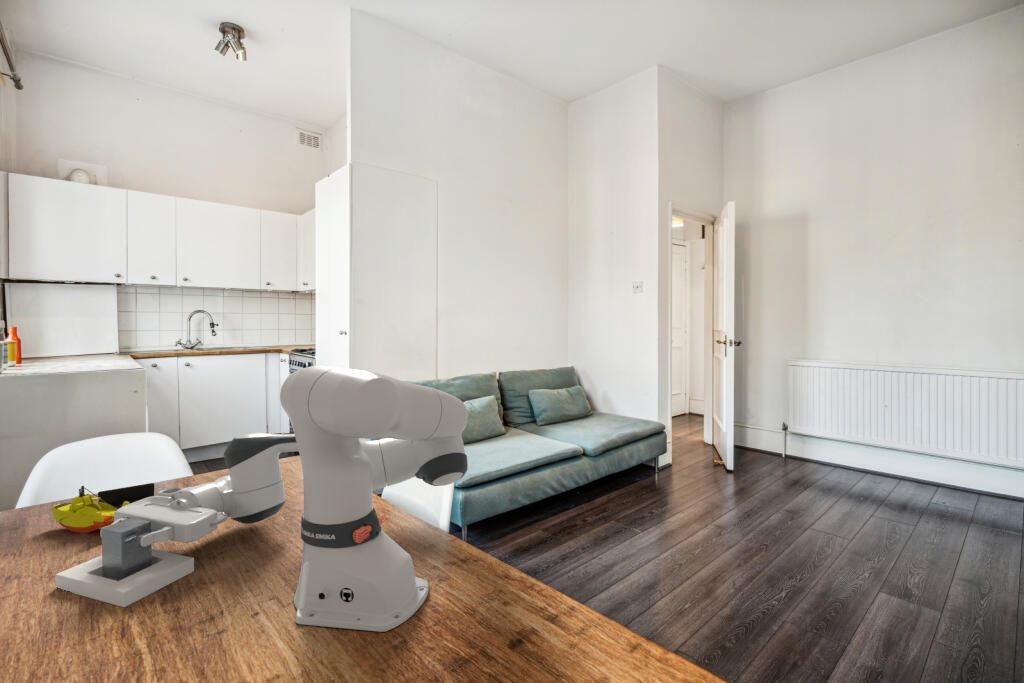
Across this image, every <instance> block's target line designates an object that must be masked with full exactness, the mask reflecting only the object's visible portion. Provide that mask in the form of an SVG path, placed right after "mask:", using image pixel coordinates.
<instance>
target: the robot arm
mask: <svg viewBox="0 0 1024 683" xmlns="http://www.w3.org/2000/svg"><path fill="white" fill-rule="evenodd" d="M279 393H280V394H279V399H280V405H281V407H282V409H283V411H284V412H285V413H286V414H287V417H288V418H289V421H290V424H291V427H292V430H293V432H286V433H268V432H249V433H244V434H241V435H238V436H237V437H233V439H232V440H231V441H230V442H229V444H228V446H227V447H226V448H225V450H224V452H223V457H224V462H225V464H226V468H227V469H228V473H229V474H226V475H224V476H221V477H218V478H217V479H215V480H214V481H213V482H204V483H201V484H198V485H196V486H188V487H185V488H184V487H183V488H169V489H168V488H166V489H163V490H159V491H158V492H157V493H156V494H157V495H154V496H152V497H148V498H144V499H142V500H139V501H136V502H133V503H131V504H128V505H126V506H123V507H122V506H120V507H119V508H117V511H115V513H114V522H113V523H112V524H111V525H113V524H116V523H118V522H121V521H124V520H127V519H129V518H136V519H141V520H146V521H151V533H149V532H147V533H144V534H143V535H140V536H138V538H137V541H138V542H137V545H139V546H143V547H146V546H148V545H150V544H152V545H153V544H157V543H162V542H167V541H168V542H169V541H173V542H177V543H182V544H189V543H193V542H196V541H197V540H200V539H201V538H203V537H205V536H207V535H209V534H211V533H212V532H214V531H215V530H217V528H218V525H220V524H222V523H224V522H227V520H228V518H230V519H231V520H233V521H234V522H239V523H241V524H245V525H246V524H247V525H248V524H249V525H251V524H256V523H259V522H262V521H263V520H266V519H268V518H271V517H272V516H274V515H277V513H278V512H279V511H280V510H282V508H283V506H284V505H285V503H286V492H285V486H284V479H283V477H282V470H281V465H280V459H279V458H280V454H281V453H291V452H292V453H293V452H298V454H299V458H300V461H301V462H300V464H301V467H302V469H301V470H302V477H303V479H302V480H303V481H302V482H303V485H302V486H303V513H302V514H301V517H300V518H301V520H300V523H301V524H300V538H301V540H302V541H303V542H302V543H303V545H302V546H303V547H302V556H301V566H300V571H299V572H300V573H299V578H298V582H297V587H296V591H295V594H294V596H293V604H294V606H295V608H296V616H295V622H296V624H298V625H307V626H319V627H325V628H326V627H327V628H339V629H347V630H348V629H349V630H360V631H371V632H379V633H380V632H381V633H382V632H388V631H390V630H393V629H395V628H397V627H398V626H400V625H402V624H403V623H404V622H406V621H407V620H409V619H410V618H411V617H412V616H414V614H415V613H416V612H417V611H418V610H419V608H420V607H421V606H422V605H423V604H424V602H425V601H426V599H427V597H428V595H429V590H430V588H429V583H428V581H427V579H424V578H421V577H418V576H417V575H416V572H415V566H414V561H413V558H412V556H411V554H410V553H408V552H407V551H406V550H404V548H402V547H401V546H400V545H399V544H398V543H397V542H396V541H394V539H392V538H391V537H390V536H389V535H388V534H386V532H384V531H383V530H382V525H381V524H382V523H384V522H386V521H387V518H385V517H386V516H387V514H386V513H385V514H382V515H381V516H380V517H378V514H377V511H376V509H375V507H374V505H373V491H374V490H379V489H383V488H386V487H390V486H391V487H392V486H394V485H397V484H399V483H403V482H405V481H408V480H410V479H411V480H412V479H413V478H416V479H420V480H422V481H423V482H424V483H426V484H428V485H430V486H432V487H433V486H434V487H441V486H448V485H451V484H453V483H455V482H457V481H459V480H460V479H462V478H463V477H464V476H465V474H466V473H467V471H468V467H469V466H468V456H467V454H466V453H465V450H466V449H465V445H464V440H463V436H462V433H463V432H464V430H465V429H466V427H467V424H468V419H469V414H468V409H467V406H466V405H465V403H464V402H463V401H462V400H461V399H460V398H458V397H456V396H455V395H453V394H452V393H448V392H446V391H444V390H440V389H438V388H434V387H430V386H426V385H422V384H417V383H412V382H408V381H404V380H401V379H400V380H399V379H397V378H394V377H391V376H388V375H384V374H381V373H376V372H373V371H369V370H363V369H358V368H357V369H356V368H355V369H354V368H346V367H338V366H330V365H321V364H318V365H312V366H308V367H304V368H300V369H298V370H295V371H294V372H292V373H291V374H290V375H288V376H287V377H286V379H285V380H284V382H283V383H282V385H281V387H280V392H279ZM367 439H368V440H367ZM369 439H370V440H369ZM372 439H373V440H372ZM109 526H110V525H109ZM106 527H107V526H106ZM103 528H105V527H103ZM99 534H100V537H101V538H102V528H100V533H99Z"/></svg>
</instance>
